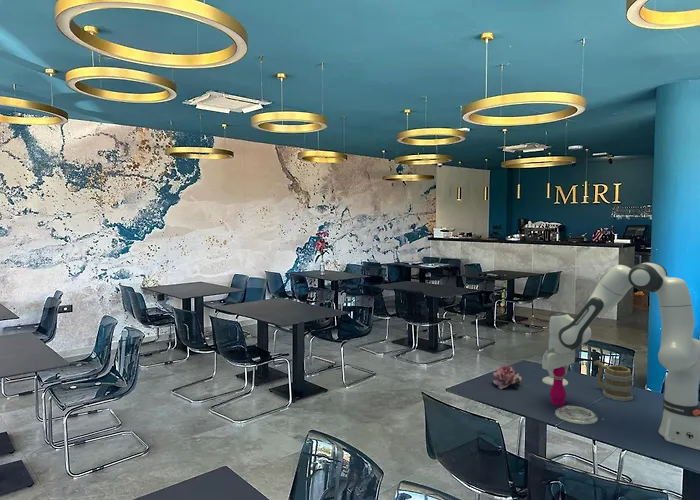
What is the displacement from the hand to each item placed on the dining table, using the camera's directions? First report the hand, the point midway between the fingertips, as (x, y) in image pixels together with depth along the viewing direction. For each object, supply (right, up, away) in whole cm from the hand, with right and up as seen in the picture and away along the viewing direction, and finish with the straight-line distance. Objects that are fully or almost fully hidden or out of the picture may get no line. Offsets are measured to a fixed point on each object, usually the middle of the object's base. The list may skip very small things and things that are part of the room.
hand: (558, 376), depth 230 cm
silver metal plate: (+2, -14, -15) cm, 20 cm away
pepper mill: (0, -13, +1) cm, 13 cm away
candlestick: (+11, -11, +30) cm, 34 cm away
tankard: (+32, -12, +12) cm, 36 cm away
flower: (-16, -12, +25) cm, 32 cm away
